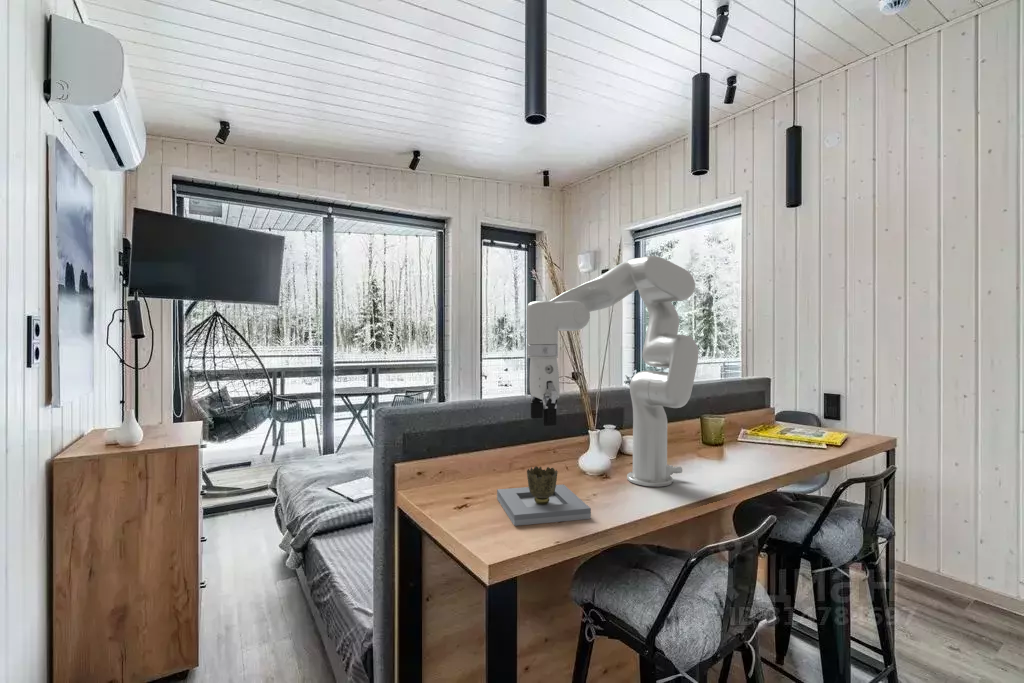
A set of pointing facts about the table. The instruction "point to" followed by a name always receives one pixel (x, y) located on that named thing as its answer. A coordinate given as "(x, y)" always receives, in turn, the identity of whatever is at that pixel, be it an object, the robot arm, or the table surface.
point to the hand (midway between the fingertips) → (543, 421)
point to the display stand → (542, 506)
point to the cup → (542, 483)
